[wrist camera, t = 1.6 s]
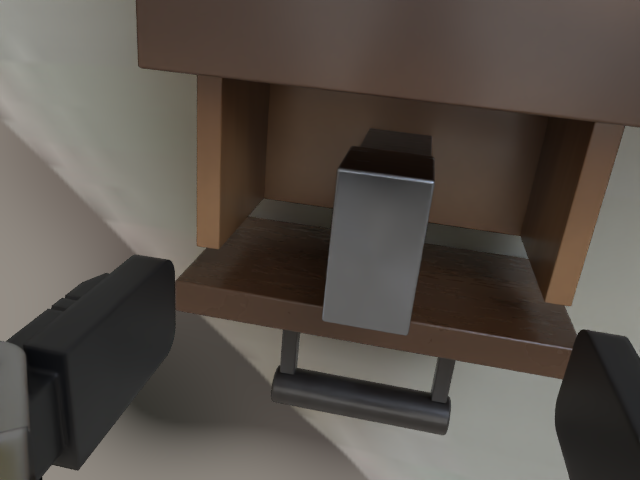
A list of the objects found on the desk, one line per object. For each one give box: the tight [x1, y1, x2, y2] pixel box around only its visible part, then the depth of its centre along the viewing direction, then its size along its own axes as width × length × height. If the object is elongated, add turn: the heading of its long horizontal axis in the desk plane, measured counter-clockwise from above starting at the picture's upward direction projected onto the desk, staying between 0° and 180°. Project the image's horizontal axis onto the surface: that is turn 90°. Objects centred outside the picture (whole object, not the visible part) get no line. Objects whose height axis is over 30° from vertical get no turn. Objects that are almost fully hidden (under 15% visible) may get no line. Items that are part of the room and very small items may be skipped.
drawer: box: [175, 75, 625, 435], centre depth 20 cm, size 18×13×7 cm
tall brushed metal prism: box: [322, 128, 435, 336], centre depth 19 cm, size 4×2×8 cm, turn 175°
